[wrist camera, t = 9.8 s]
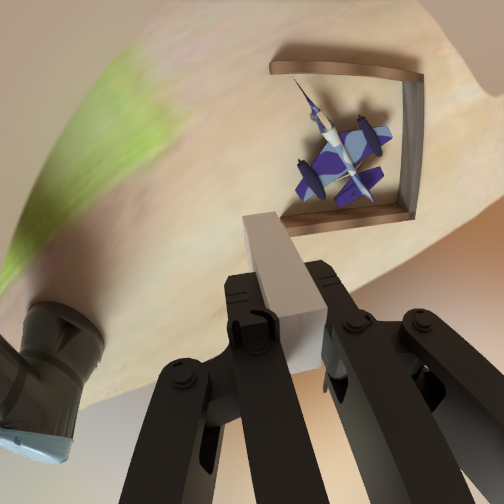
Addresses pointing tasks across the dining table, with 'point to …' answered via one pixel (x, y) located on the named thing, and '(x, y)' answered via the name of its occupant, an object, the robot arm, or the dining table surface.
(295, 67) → the frame
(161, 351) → the dining table surface
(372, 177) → the toy airplane
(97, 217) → the dining table surface
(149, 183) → the dining table surface
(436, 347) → the robot arm
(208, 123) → the dining table surface
